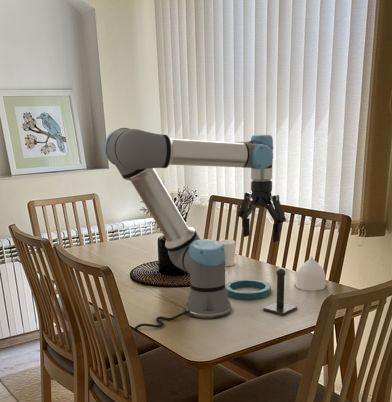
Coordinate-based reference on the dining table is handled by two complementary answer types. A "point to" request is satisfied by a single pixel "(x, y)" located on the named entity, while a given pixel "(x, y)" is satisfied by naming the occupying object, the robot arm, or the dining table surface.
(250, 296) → the ring
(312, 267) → the teardrop
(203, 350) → the dining table surface
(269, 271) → the dining table surface
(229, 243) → the drinking glass
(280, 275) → the ring holder
